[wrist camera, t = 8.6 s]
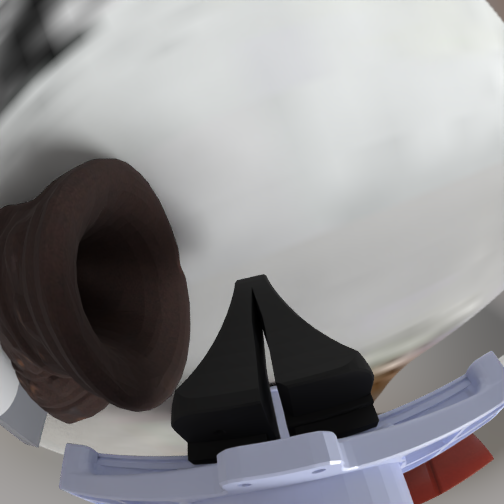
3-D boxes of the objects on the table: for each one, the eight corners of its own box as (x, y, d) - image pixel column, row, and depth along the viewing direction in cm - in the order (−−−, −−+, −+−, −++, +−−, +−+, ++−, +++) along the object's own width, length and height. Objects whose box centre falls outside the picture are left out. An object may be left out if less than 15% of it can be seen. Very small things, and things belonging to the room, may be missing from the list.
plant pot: (371, 462, 50) (389, 516, 36) (412, 428, 41) (440, 495, 27) (427, 441, 54) (446, 488, 39) (469, 404, 44) (496, 457, 30)
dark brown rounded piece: (30, 429, 14) (197, 477, 12) (-88, 270, 7) (-4, 209, 5) (74, 350, 22) (222, 352, 20) (-2, 205, 15) (149, 137, 13)
